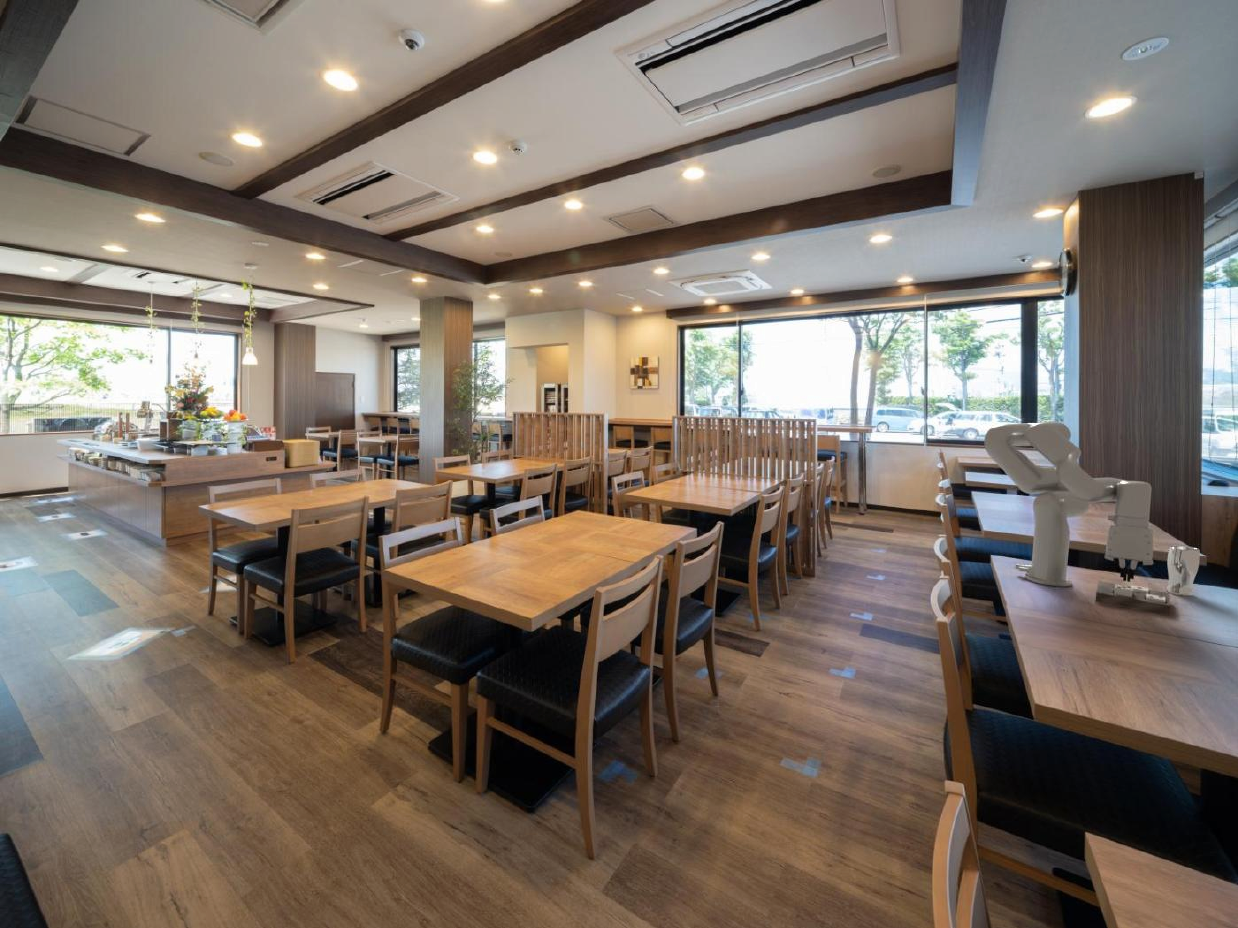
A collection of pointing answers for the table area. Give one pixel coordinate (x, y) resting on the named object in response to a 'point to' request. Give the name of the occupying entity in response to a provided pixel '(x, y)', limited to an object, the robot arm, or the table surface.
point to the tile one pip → (1140, 589)
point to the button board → (1132, 599)
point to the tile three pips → (1123, 590)
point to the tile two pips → (1155, 598)
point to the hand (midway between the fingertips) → (1126, 580)
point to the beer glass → (1182, 569)
